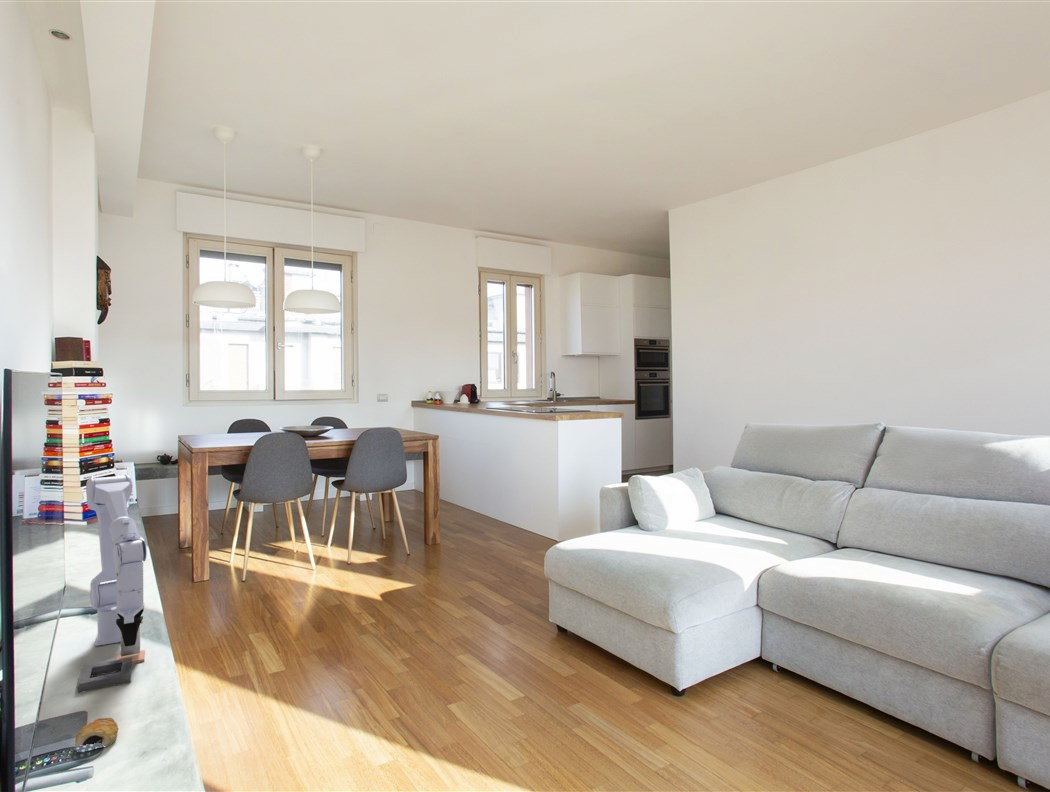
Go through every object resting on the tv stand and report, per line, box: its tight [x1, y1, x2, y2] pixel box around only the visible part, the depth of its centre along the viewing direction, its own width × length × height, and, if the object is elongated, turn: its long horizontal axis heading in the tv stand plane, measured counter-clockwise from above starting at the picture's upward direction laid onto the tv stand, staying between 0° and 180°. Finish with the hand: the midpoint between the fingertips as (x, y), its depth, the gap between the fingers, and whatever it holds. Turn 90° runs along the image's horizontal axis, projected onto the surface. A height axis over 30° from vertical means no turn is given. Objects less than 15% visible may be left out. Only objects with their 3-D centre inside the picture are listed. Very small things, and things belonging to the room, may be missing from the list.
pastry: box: [74, 717, 119, 747], centre depth 123 cm, size 9×7×4 cm
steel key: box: [120, 619, 144, 657], centre depth 157 cm, size 5×4×8 cm
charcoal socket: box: [77, 657, 133, 694], centre depth 147 cm, size 10×10×2 cm
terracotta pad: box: [115, 649, 146, 665], centre depth 157 cm, size 6×6×1 cm
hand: (130, 642), depth 157 cm, fingers closed on steel key, 4 cm apart
